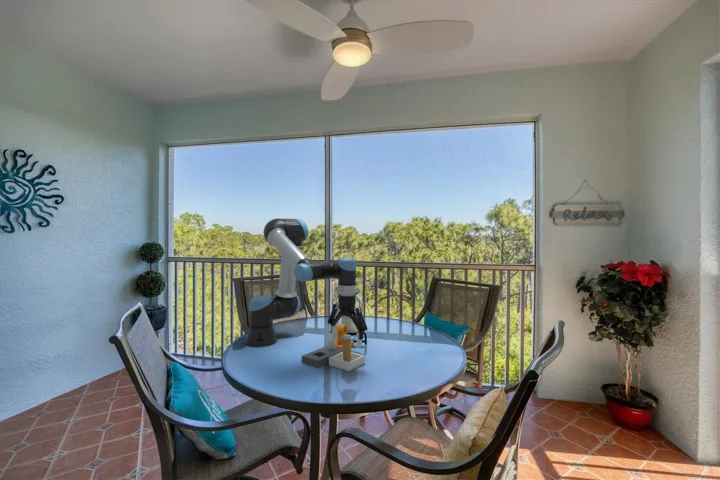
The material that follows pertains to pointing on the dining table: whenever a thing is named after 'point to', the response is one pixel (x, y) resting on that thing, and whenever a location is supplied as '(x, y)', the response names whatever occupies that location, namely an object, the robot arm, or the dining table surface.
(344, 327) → the bracket
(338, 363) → the parts tray
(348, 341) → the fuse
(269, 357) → the dining table surface
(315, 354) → the fuse block
